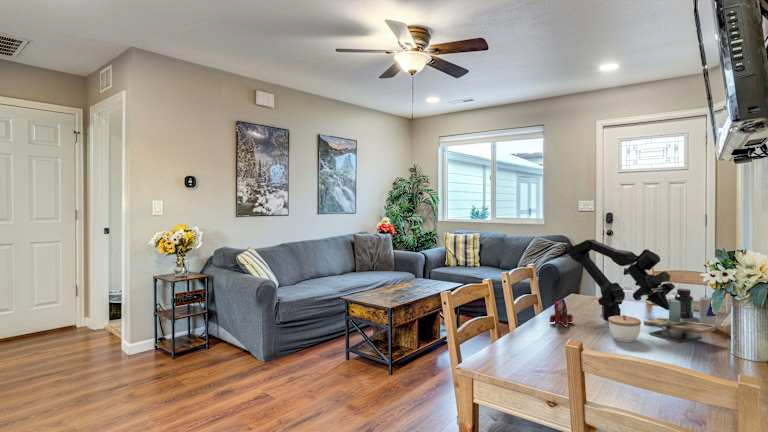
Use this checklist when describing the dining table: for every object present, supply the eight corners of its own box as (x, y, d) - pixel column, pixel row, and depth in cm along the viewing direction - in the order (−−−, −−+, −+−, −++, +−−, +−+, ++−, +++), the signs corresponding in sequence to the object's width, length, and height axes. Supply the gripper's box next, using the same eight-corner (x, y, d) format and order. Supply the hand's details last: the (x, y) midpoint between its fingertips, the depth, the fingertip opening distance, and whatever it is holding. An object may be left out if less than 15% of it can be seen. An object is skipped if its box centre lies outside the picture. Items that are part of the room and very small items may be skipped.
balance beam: (644, 325, 170) (643, 320, 170) (658, 322, 174) (658, 317, 174) (700, 334, 151) (700, 329, 151) (715, 330, 155) (715, 325, 155)
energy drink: (719, 330, 169) (719, 300, 169) (703, 329, 170) (703, 299, 170) (711, 326, 174) (711, 297, 174) (696, 325, 175) (696, 296, 175)
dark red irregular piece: (574, 321, 186) (574, 298, 186) (564, 328, 177) (564, 304, 176) (558, 319, 191) (557, 296, 190) (548, 326, 181) (547, 301, 181)
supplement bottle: (697, 318, 186) (697, 291, 185) (681, 318, 186) (681, 291, 185) (686, 314, 192) (686, 287, 192) (671, 314, 193) (670, 288, 192)
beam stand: (649, 334, 166) (649, 321, 166) (672, 329, 172) (672, 316, 171) (678, 343, 156) (678, 328, 156) (702, 337, 162) (702, 323, 161)
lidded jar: (643, 345, 155) (643, 319, 154) (610, 342, 158) (610, 317, 158) (637, 336, 165) (637, 312, 164) (606, 334, 168) (606, 310, 168)
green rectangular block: (664, 323, 164) (664, 301, 164) (674, 321, 167) (674, 299, 166) (674, 325, 161) (674, 303, 161) (684, 323, 163) (684, 301, 163)
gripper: (639, 267, 166) (668, 300, 156) (670, 263, 174) (699, 294, 164) (621, 284, 173) (648, 317, 164) (651, 279, 181) (678, 310, 171)
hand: (669, 309), depth 166 cm, fingers closed, pressing on green rectangular block
